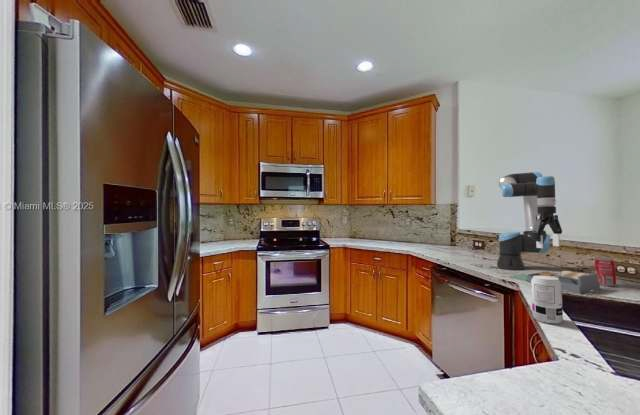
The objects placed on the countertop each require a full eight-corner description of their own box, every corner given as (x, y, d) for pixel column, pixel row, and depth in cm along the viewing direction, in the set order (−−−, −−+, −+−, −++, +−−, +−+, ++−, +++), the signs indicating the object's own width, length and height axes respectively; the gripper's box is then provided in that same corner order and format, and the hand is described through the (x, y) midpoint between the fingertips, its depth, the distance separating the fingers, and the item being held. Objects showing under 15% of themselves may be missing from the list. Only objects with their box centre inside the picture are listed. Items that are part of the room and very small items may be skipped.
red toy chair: (620, 287, 133) (619, 260, 133) (602, 286, 135) (601, 260, 135) (608, 283, 140) (607, 257, 140) (591, 283, 142) (590, 257, 142)
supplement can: (527, 316, 102) (525, 275, 102) (550, 315, 101) (548, 274, 102) (544, 325, 93) (542, 280, 94) (569, 324, 93) (567, 280, 93)
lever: (535, 275, 144) (535, 271, 144) (551, 273, 149) (551, 269, 149) (577, 284, 128) (576, 278, 128) (593, 280, 132) (593, 275, 132)
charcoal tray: (527, 282, 147) (526, 267, 147) (545, 278, 152) (545, 265, 153) (579, 293, 126) (579, 276, 126) (599, 289, 131) (599, 273, 131)
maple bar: (561, 276, 137) (561, 271, 137) (566, 275, 138) (566, 270, 138) (581, 280, 129) (581, 274, 130) (586, 279, 131) (586, 273, 131)
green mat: (508, 277, 158) (508, 276, 158) (523, 275, 162) (523, 274, 162) (526, 281, 149) (526, 279, 149) (541, 278, 153) (541, 277, 153)
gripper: (538, 206, 137) (540, 249, 137) (569, 205, 146) (571, 246, 145) (522, 206, 144) (524, 247, 144) (553, 205, 153) (555, 244, 152)
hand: (548, 247), depth 144 cm, fingers open, 12 cm apart
